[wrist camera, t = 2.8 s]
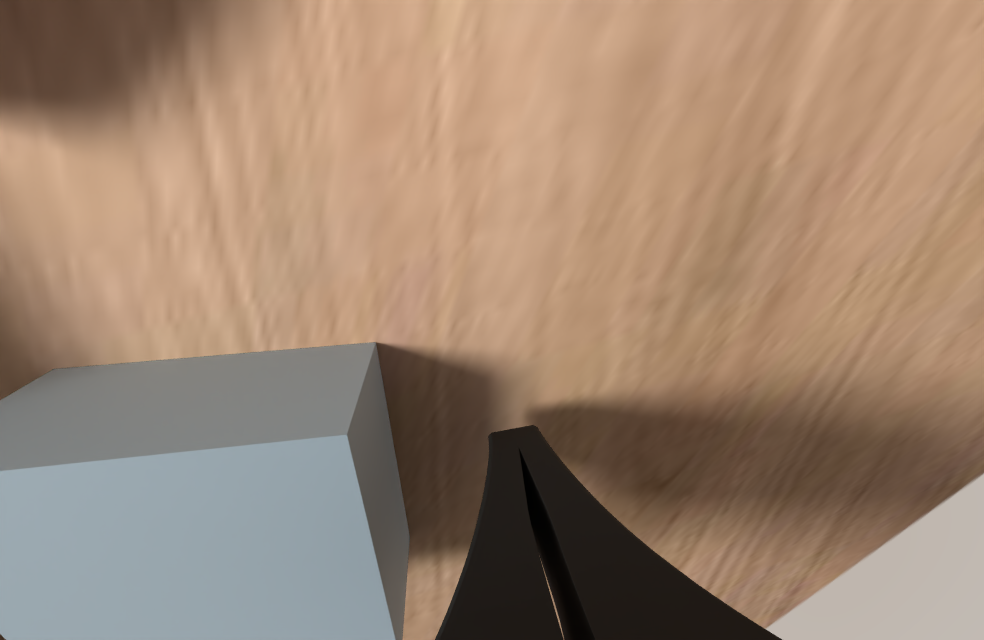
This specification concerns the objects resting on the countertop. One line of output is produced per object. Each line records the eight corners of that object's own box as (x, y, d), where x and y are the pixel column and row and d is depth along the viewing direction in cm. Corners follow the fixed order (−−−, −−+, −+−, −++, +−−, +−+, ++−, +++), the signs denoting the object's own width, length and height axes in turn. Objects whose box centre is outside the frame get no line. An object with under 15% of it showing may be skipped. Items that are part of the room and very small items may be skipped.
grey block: (410, 530, 14) (400, 662, 11) (177, 561, 13) (81, 714, 10) (377, 337, 11) (346, 434, 7) (63, 363, 10) (-148, 486, 6)
